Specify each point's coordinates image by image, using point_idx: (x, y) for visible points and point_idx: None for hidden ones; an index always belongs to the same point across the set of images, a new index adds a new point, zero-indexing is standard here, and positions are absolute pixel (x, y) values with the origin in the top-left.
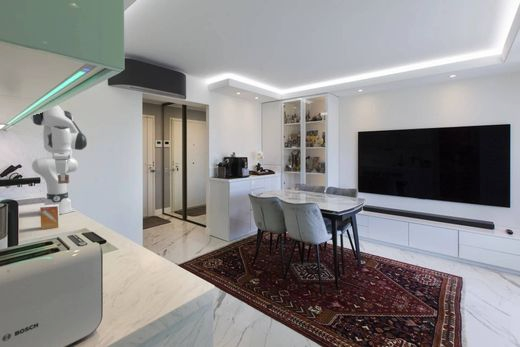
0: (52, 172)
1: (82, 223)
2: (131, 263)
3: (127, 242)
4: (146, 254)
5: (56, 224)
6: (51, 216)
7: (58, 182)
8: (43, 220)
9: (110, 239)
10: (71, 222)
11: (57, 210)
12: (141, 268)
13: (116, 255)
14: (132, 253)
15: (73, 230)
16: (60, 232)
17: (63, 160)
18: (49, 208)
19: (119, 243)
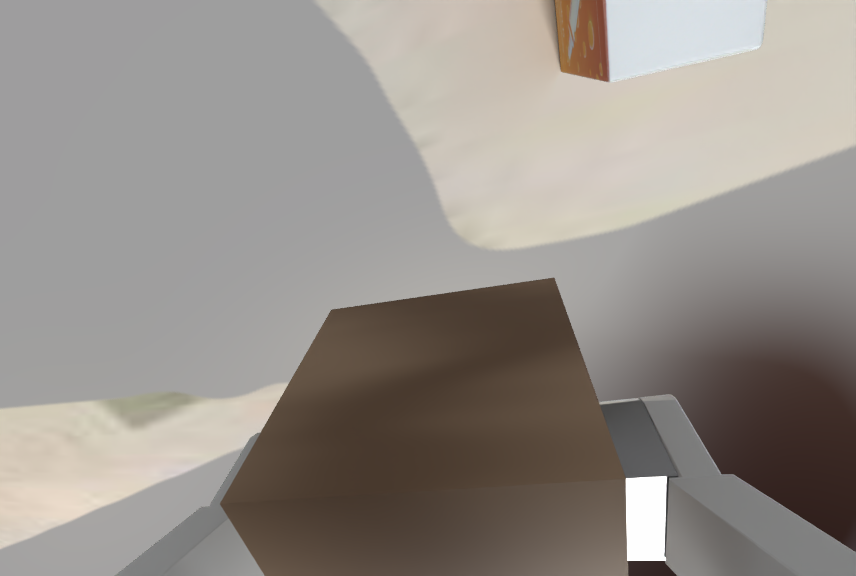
0: None
1: (622, 218)
2: (19, 462)
3: (206, 451)
4: (92, 495)
5: (564, 58)
6: (576, 15)
7: (323, 330)
8: None
9: (248, 397)
10: (699, 127)
11: (596, 76)
12: None
13: (74, 426)
14: (96, 464)
15: (447, 203)
16: (419, 131)
17: None
18: None
19: (195, 429)
